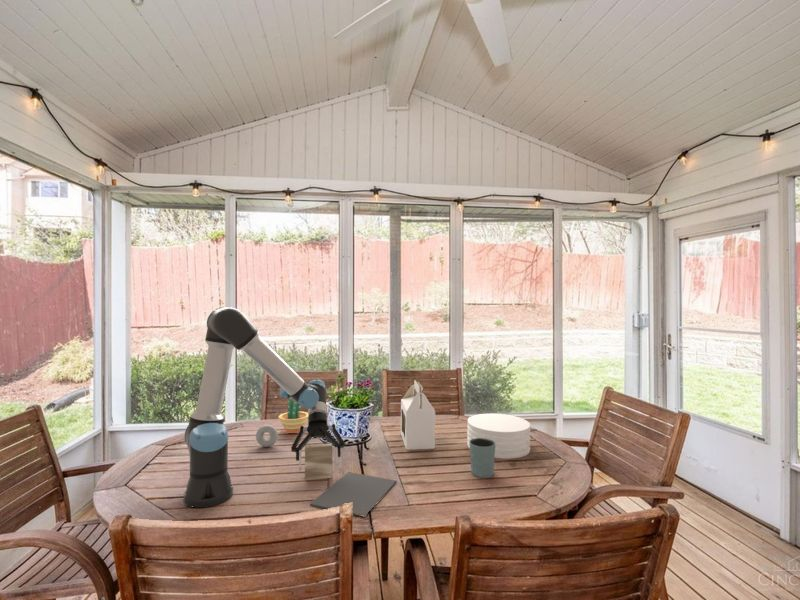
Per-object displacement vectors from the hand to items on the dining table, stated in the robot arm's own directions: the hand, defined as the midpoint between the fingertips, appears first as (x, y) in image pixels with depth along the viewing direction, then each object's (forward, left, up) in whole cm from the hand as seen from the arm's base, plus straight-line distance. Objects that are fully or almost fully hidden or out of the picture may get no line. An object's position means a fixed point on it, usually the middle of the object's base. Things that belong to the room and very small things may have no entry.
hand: (318, 467), depth 149 cm
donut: (+20, +40, -5) cm, 45 cm away
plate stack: (+60, -58, -5) cm, 83 cm away
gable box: (+53, -21, -5) cm, 57 cm away
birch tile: (+2, +1, -5) cm, 5 cm away
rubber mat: (-4, -18, -5) cm, 19 cm away
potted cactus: (+43, +42, -5) cm, 60 cm away
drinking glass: (+29, -56, -5) cm, 63 cm away
